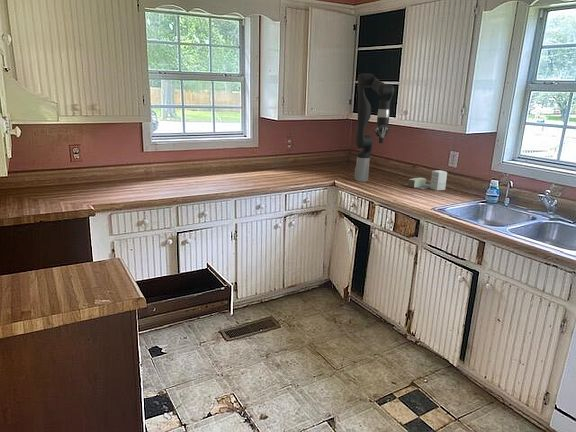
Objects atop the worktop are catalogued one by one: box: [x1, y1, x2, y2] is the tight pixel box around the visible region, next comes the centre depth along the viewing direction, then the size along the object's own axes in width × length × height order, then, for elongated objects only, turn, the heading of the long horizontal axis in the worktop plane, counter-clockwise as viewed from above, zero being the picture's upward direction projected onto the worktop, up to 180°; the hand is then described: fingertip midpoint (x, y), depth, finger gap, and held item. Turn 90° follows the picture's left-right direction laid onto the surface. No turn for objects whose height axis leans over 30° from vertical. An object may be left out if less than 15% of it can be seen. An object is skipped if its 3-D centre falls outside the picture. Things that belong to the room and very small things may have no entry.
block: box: [407, 177, 427, 189], centre depth 314 cm, size 5×5×13 cm
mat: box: [403, 183, 431, 190], centre depth 317 cm, size 16×17×1 cm
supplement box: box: [429, 169, 448, 191], centre depth 307 cm, size 7×7×13 cm
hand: (380, 143), depth 293 cm, fingers closed
